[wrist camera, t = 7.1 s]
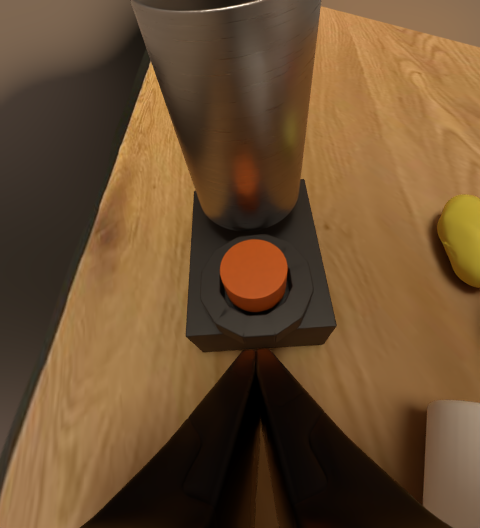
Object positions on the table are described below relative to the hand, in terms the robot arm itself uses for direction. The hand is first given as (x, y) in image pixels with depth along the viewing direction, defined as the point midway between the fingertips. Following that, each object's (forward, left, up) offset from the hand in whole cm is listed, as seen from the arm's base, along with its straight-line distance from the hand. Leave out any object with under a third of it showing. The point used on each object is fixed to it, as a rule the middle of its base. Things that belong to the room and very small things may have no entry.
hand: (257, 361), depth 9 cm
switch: (+4, +3, -5) cm, 8 cm away
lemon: (+17, -9, -12) cm, 23 cm away
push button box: (+7, +5, -12) cm, 15 cm away
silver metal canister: (+10, +7, -5) cm, 13 cm away
